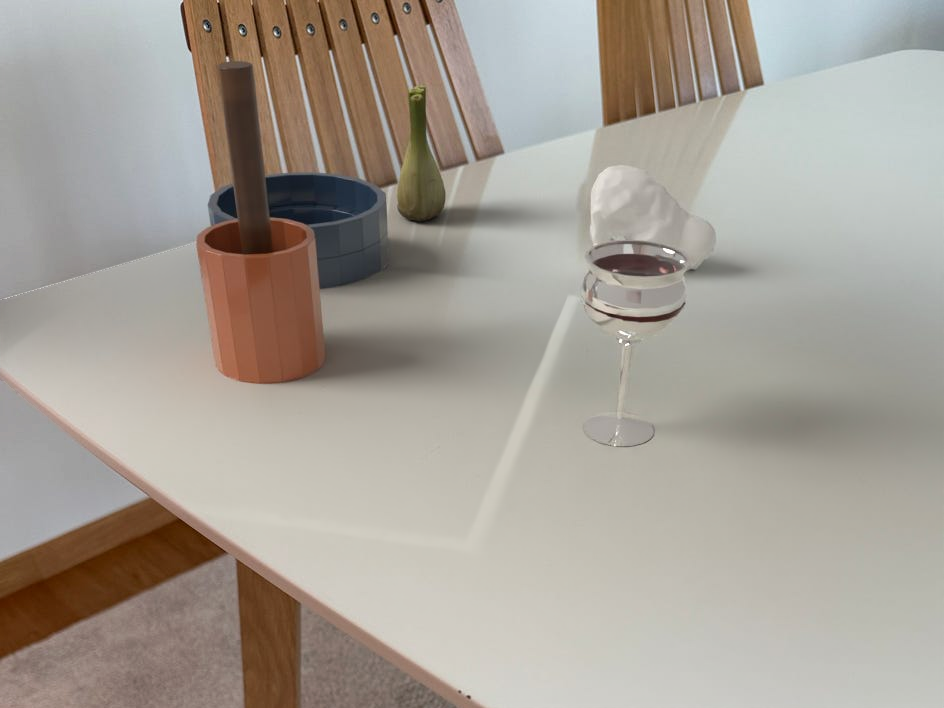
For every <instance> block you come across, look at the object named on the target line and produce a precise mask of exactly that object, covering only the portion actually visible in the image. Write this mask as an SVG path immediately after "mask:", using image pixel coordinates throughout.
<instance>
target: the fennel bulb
mask: <svg viewBox="0 0 944 708" xmlns="http://www.w3.org/2000/svg"><path fill="white" fill-rule="evenodd" d="M407 98H408V107H409V108H408V112H409V125H410V127H409V128H410V133H409V140H408V144H407V148H406V151H405V154H404V158H403V162H402V165H401V169H400V174H399V178H398V182H397V183H398V184H397V194H396V198H397V207H396V208H397V211H398V213H399V214H400V215H401V216H402V218H404V219H406V220H411V221H415V222H424V221H427V220H431V219H433V218H435V217H437V216H439V215H440V214H441V213H442V212H443V210H444V207H445V204H446V200H447V199H446V195H447V193H446V187H445V184H444V180H443V178H442V177H443V176H442V174H441V172H440V169H439V167H438V164H437V162H436V160H435V157H434V155H433V153H432V150H431V147H430V145H429V142H428V137H427V86H425V85H423V84H422V85H416V86H413V88H411V89H409V91H408V92H407Z"/></svg>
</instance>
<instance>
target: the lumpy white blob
mask: <svg viewBox="0 0 944 708" xmlns="http://www.w3.org/2000/svg"><path fill="white" fill-rule="evenodd" d="M589 235H590V238H591V241H592V244H593V246H595V245H598V244H600V243H603V242H609V241H615V240H616V239H614V238H615V237H622V238H623V239H624V240H644V241H652V242H657V243H663V244H666V245H669V246H672V247H675V248H677V249H679V250H681V251H683V252H684V253H686V254H687V256H688V257H689V258H690V266H689V267H688V268H687V269H686V271H685V272H687V271H689V270H693V271H696V270H697V269H698V268H699V267H700V266H701V264H702V263H703V262H704V261H705V260H707V259H708V258H710V257H711V256H712V254H713V253H714V251H715V247H716V243H717V234H716V230H715V228H714V227H713V225H712V223H710V222H709V221H708V220H706V219H704V218H701V217H700V216H696V215H692V214H690V213H689V212H688V211H687V210H686V209H685V208H683V207H681V206H680V204H679V202H678V201H677V199H676V198H675V197H673V196H672V195H671V194H670V193H669V192H668V190H667V188H666V187H665V186H664V185H662V184H661V183H660V182H658V181H657V180H656V179H655V178H654V177H653V176H652V175H651V174H650V173H649V172H647V171H645V170H643V169H641V168H638V167H635V166H632V165H626V164H619V165H612V166H610V165H609V166H608V167H606V168H605V169H604V170H602V171H601V172H600V173H599V174H598V175H597V178H596V179H595V181H594V183H593V186H592V188H591V190H590V225H589Z"/></svg>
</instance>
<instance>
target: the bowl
mask: <svg viewBox="0 0 944 708" xmlns="http://www.w3.org/2000/svg"><path fill="white" fill-rule="evenodd" d="M265 179H266V188H267V197H268V206H269V215H270V217H272V218H282V219H289V220H293V221H297V222H300V223H303V224H305V225H307V226H308V227H310V228H311V229H313V230H314V234H315V242H316V254H317V265H318V277H319V289H320V290H321V289H330V288H335V287H336V288H337V287H342V286H346V285H349V284H353V283H356V282H360V281H363V280H366V279H368V278H370V277H371V276H374V275H376V274H377V273H379V272H381V271H382V270H384V269H385V267H386V266H387V265H388V264H389V261H390V256H389V255H390V254H389V234H388V233H389V232H388V231H389V230H388V229H389V228H388V208H387V206H388V205H387V193H386V192H385V191H384V190H383V189H381V188H380V187H379V186H378V185H376V184H374V183H372V182H369V181H368V180H364V179H362V178H358V177H354V176H349V175H344V174H339V173H326V172H316V171H315V172H313V171H312V172H311V171H310V172H306V171H305V172H302V171H301V172H300V171H299V172H281V173H272V174H265ZM207 210H208V216H209V217H208V218H209V224H210V226H213V225H216V224H218V223H221V222H224V221H230V220H236V219H238V217H237V209H236V202H235V194H234V186H233V182H232V183H229V184H226V185H224V186H221V187H220V188H218V189H217V190H216V191H214V192H213V193H212V194H210V196H209V199H208V203H207Z"/></svg>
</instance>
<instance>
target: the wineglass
mask: <svg viewBox="0 0 944 708" xmlns="http://www.w3.org/2000/svg"><path fill="white" fill-rule="evenodd" d="M614 240H615V241H609V242H603V243H600V244H598V245H595V246H594V245H591V247H590V248H589V249H587V250H585V254H584V259H585V263H586V264H587V266H588V269H587V271H586V272H585V273H584V277H583V280H582V284H581V301H582V304H583V307H584V311H585V313H586V315H587V316H588V317H589V318H590V319H591V321H592V322H593V323H594V324H595V325H596V326H597V327H598V329H599V330H600V331H601V332H603V333H604V334H606V335H608V336H610V337H614V338H615V340H616V341H617V343H618V344H619V345H621V350H620V351H621V353H620V368H619V380H618V381H619V383H618V398H617V411H607V412H601V413H596V414H594V415H592V416H590V417H588V418H587V419H585V421H584V422H583V427H582V429H583V431H584V433H585V435H587V436H588V437H589V438H590V439H592V440H593V441H596V442H598V443H599V444H603V445H608V446H613V447H633V446H638V445H641V444H645V443H646V442H648V441H649V440H651V438H652V437H653V436H654V434H655V432H654V431H655V429H654V427H653V425H652V424H651V423H650V422H649V421H648V420H646V419H645V418H643V417H641V416H638V415H637V414H633V413H628V412H624V410H625V403H626V397H627V392H628V385H629V384H628V383H629V379H630V372H631V365H632V359H633V354H634V353H633V352H634V346H637V345H638V344H639V343H640V342H641V341H642V340H646V339H650V338H653V337H655V336H658V335H659V334H660V333H661V332H663V331H664V330H666V329H667V328H668V327H670V326H671V325H673V323H675V321H676V320H677V319H678V318H679V316H680V314H681V312H682V311H683V310H684V309H685V306H686V300H687V296H688V289H687V280H686V277H685V276H684V274H685V272H687V271H686V269H688V267H689V266H690V258H689V257H688V256H687V254H686V253H684V252H683V251H681V250H679V249H677V248H675V247H672V246H669V245H666V244H663V243H657V242H652V241H644V240H626V239H617V240H616V239H614Z"/></svg>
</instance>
